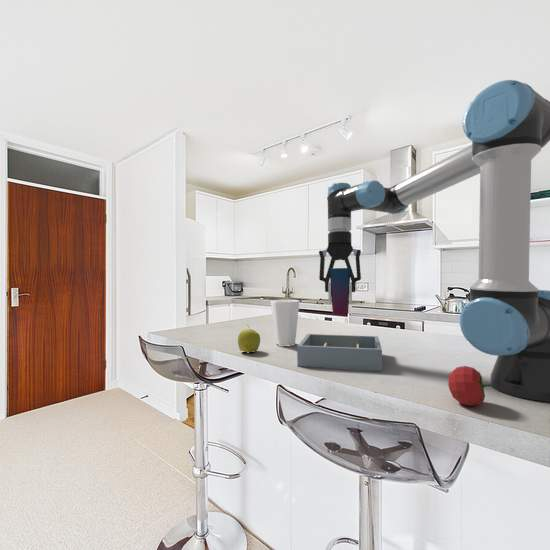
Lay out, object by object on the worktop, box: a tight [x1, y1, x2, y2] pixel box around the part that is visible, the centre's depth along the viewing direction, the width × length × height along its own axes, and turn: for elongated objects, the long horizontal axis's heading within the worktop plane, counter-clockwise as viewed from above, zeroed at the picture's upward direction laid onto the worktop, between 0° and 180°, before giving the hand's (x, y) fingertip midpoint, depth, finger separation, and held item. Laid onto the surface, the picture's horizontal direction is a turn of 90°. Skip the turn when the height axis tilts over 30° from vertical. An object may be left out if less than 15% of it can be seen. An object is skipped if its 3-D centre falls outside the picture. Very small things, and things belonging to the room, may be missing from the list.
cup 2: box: [329, 267, 351, 316], centre depth 108 cm, size 7×7×15 cm
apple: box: [237, 324, 261, 352], centre depth 116 cm, size 8×8×10 cm
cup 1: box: [270, 299, 300, 346], centre depth 127 cm, size 11×10×17 cm
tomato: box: [447, 365, 492, 407], centre depth 68 cm, size 8×8×8 cm
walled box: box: [296, 333, 383, 372], centre depth 104 cm, size 20×24×6 cm
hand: (340, 302), depth 108 cm, fingers closed on cup 2, 6 cm apart
